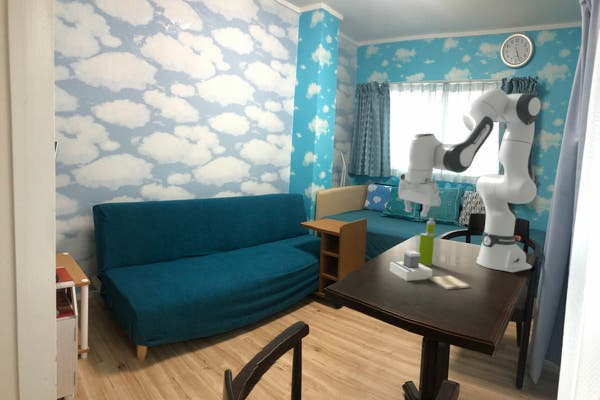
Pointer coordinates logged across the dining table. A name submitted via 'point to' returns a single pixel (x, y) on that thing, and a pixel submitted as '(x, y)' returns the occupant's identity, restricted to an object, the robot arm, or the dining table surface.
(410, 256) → the plug
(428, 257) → the vape
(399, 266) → the white flat square piece
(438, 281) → the coaster
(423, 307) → the dining table surface
